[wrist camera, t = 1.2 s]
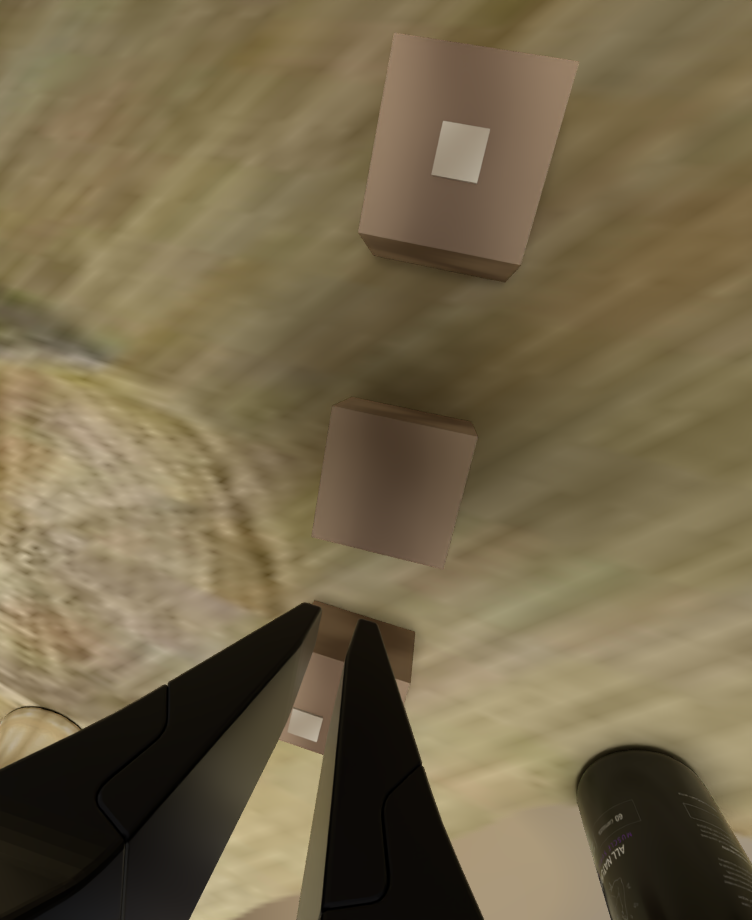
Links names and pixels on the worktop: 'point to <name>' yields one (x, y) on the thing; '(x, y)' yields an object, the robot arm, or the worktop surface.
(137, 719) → the robot arm
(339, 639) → the two-pip walnut block
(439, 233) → the one-pip walnut block
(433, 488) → the plain walnut block
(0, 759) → the hand bell
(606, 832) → the supplement bottle
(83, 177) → the worktop surface
